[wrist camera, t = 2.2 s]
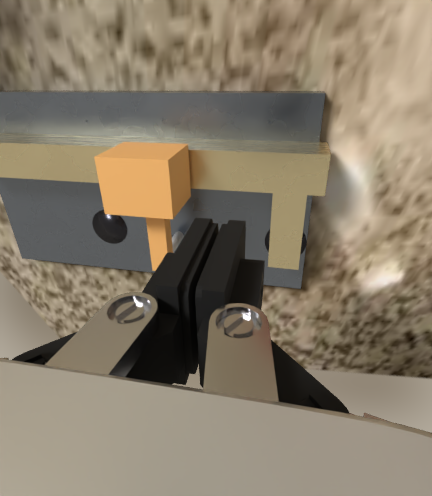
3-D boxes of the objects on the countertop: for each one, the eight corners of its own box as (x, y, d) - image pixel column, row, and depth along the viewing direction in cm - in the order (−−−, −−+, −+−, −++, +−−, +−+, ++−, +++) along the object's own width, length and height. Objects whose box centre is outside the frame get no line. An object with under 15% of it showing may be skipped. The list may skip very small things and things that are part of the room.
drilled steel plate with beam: (332, 91, 21) (338, 99, 18) (307, 282, 28) (307, 314, 24) (-29, 90, 26) (-79, 96, 23) (24, 252, 33) (-8, 275, 29)
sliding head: (200, 133, 23) (167, 159, 17) (204, 244, 27) (179, 294, 21) (142, 132, 23) (94, 156, 18) (155, 240, 27) (118, 287, 22)
